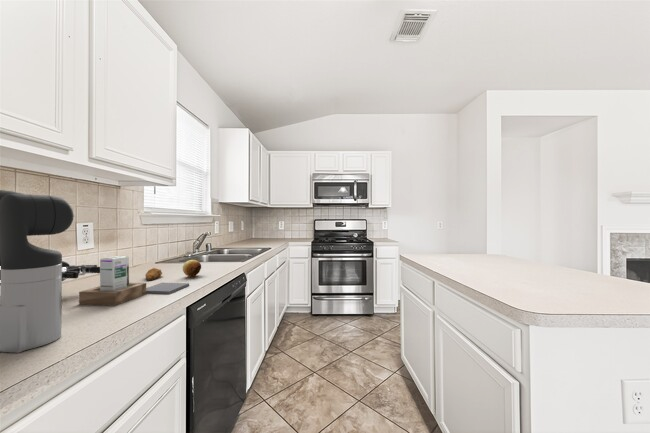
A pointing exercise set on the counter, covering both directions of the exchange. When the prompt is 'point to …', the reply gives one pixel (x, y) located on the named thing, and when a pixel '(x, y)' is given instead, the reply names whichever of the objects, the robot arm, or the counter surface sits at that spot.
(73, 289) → the counter surface
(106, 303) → the walnut holder
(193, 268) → the fruit
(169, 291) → the charcoal mat
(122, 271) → the syrup box
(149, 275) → the croissant
